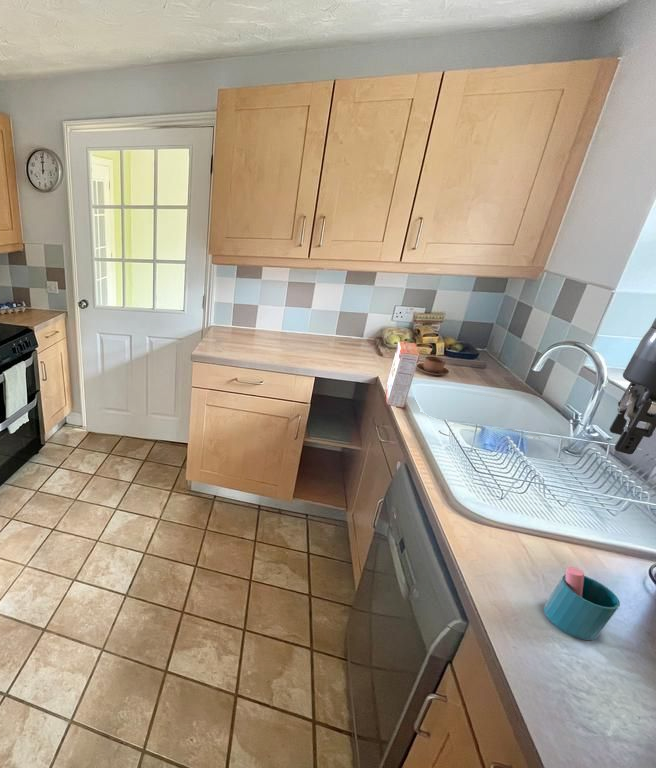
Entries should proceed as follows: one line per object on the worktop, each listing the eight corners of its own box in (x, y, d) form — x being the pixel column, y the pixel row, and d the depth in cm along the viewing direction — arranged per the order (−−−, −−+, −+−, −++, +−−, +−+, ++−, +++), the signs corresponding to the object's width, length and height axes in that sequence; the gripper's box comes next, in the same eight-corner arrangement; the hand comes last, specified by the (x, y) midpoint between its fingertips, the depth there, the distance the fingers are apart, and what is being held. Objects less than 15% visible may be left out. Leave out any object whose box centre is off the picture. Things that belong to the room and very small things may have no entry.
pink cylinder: (576, 614, 75) (581, 568, 73) (581, 624, 73) (586, 576, 71) (560, 612, 76) (564, 565, 74) (564, 621, 74) (569, 574, 72)
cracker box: (383, 390, 163) (398, 340, 155) (401, 393, 161) (416, 343, 152) (385, 405, 152) (401, 351, 143) (404, 408, 150) (421, 354, 141)
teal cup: (587, 613, 76) (608, 582, 73) (604, 647, 70) (628, 615, 67) (538, 597, 79) (556, 567, 76) (551, 629, 73) (571, 597, 70)
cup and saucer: (419, 365, 189) (423, 352, 187) (450, 372, 182) (455, 359, 179) (412, 372, 182) (416, 358, 179) (443, 380, 174) (448, 366, 171)
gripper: (717, 376, 60) (657, 468, 67) (693, 352, 70) (644, 434, 77) (641, 363, 65) (593, 450, 72) (629, 342, 74) (587, 420, 81)
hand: (619, 442), depth 74 cm, fingers open, 8 cm apart
